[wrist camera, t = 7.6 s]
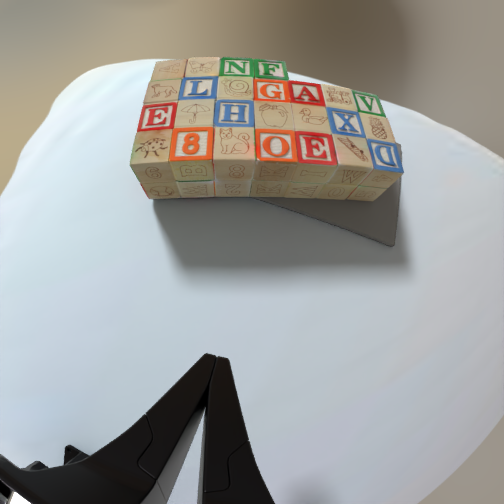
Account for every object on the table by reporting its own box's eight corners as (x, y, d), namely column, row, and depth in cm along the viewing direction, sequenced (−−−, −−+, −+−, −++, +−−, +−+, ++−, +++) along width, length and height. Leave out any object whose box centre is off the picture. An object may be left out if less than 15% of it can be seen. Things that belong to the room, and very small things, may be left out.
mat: (391, 246, 25) (394, 245, 25) (155, 170, 25) (154, 167, 25) (398, 147, 29) (400, 144, 28) (206, 83, 29) (206, 80, 28)
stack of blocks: (373, 204, 26) (351, 110, 29) (406, 175, 20) (371, 74, 23) (147, 199, 24) (164, 101, 27) (126, 163, 18) (155, 59, 21)
